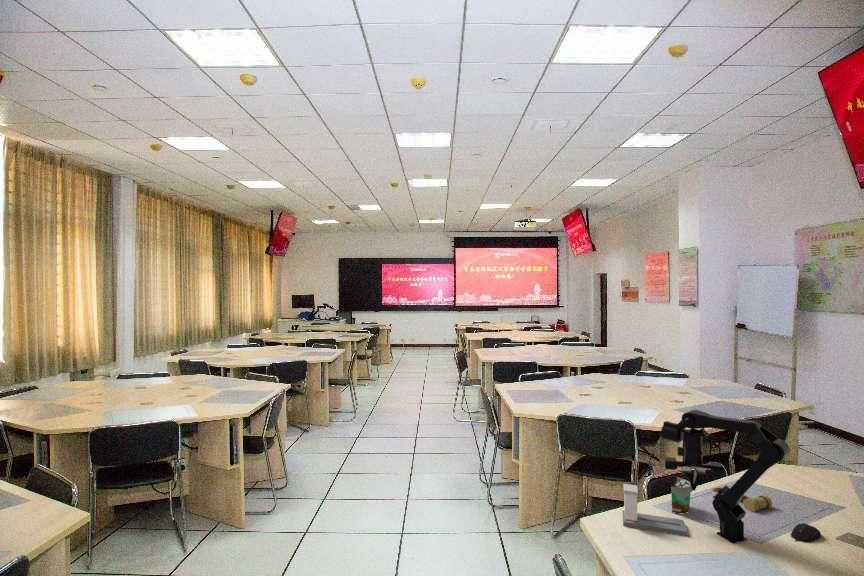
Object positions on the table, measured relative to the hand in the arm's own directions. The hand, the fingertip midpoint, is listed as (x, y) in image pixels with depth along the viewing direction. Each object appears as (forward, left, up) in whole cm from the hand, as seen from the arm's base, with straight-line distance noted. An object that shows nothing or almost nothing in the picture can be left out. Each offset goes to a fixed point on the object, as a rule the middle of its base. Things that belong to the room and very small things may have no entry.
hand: (693, 490), depth 168 cm
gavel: (+12, -33, -13) cm, 37 cm away
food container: (+10, -5, -12) cm, 17 cm away
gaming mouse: (-17, -29, -13) cm, 36 cm away
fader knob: (+7, +20, -10) cm, 24 cm away
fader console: (+3, +14, -12) cm, 19 cm away
